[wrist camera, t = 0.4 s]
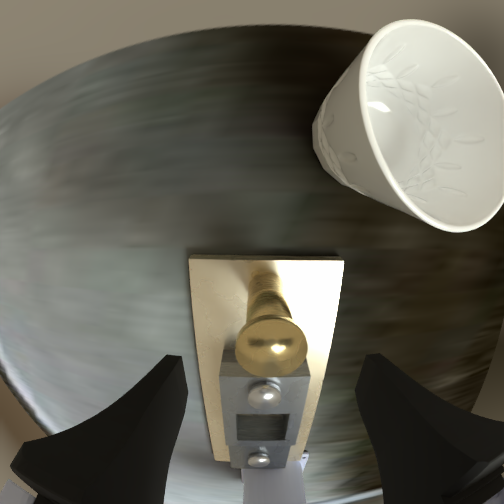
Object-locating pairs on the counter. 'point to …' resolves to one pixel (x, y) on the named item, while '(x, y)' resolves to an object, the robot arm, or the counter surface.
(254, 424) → the door lock with knob
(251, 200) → the counter surface
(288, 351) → the brass knob
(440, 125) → the white cup
